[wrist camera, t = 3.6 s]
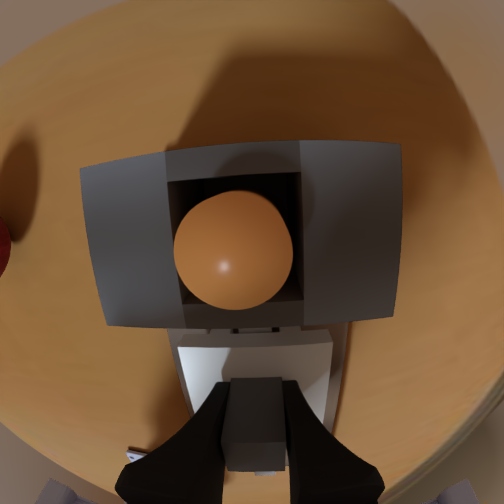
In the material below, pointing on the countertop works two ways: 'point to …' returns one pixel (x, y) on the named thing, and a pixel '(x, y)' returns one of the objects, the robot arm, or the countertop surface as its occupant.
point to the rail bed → (294, 216)
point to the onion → (4, 246)
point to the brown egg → (234, 249)
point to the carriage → (257, 386)
